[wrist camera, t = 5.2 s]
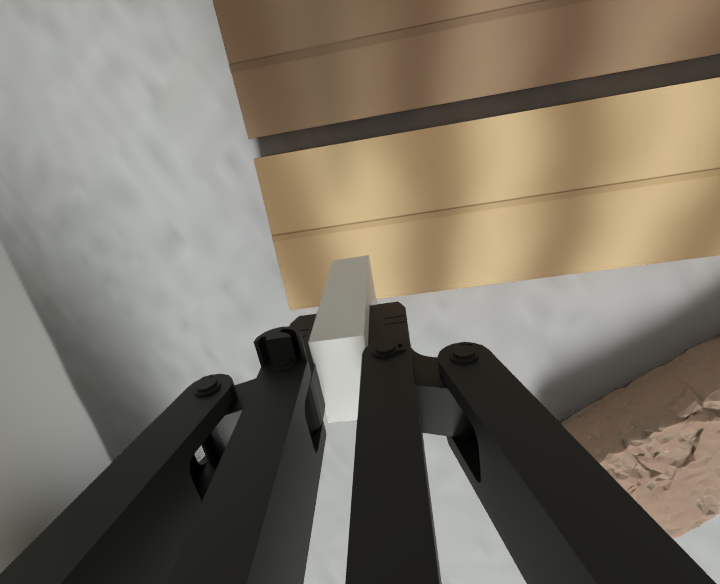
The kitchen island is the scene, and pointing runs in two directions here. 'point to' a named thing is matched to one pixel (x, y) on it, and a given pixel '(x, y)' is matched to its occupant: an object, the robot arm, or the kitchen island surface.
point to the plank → (504, 195)
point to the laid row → (438, 51)
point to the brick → (662, 438)
